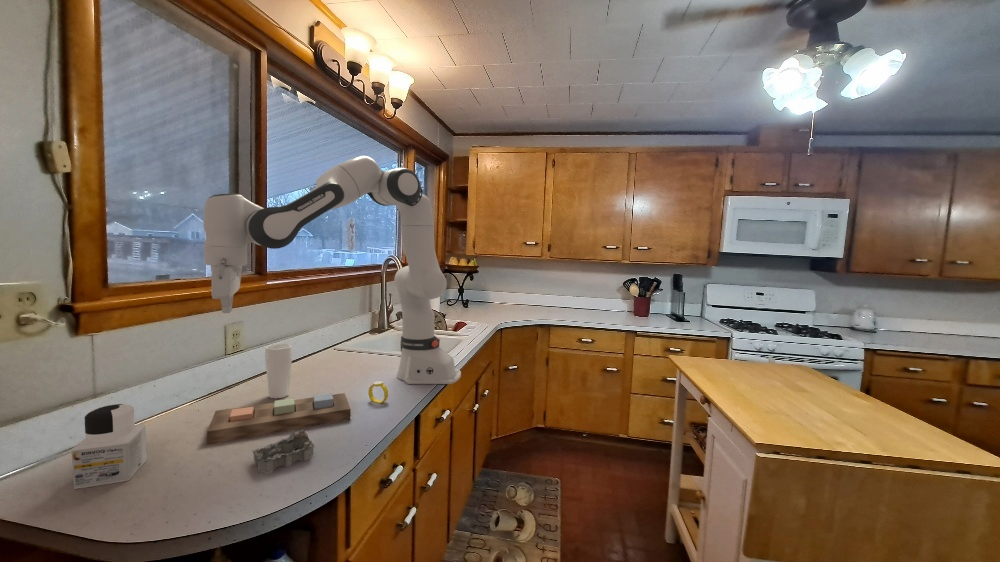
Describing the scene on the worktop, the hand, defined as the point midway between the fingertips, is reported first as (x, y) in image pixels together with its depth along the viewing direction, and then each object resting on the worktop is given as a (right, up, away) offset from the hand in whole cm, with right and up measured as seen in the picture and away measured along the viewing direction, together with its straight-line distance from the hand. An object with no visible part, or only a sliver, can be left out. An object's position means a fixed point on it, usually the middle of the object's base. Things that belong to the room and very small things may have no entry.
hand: (227, 312), depth 98 cm
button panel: (+15, -28, 0) cm, 32 cm away
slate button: (+23, -26, +4) cm, 35 cm away
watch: (+34, -28, +14) cm, 46 cm away
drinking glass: (+4, -26, +16) cm, 31 cm away
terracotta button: (+7, -27, -5) cm, 28 cm away
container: (-4, -29, -25) cm, 38 cm away
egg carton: (+24, -30, -17) cm, 42 cm away
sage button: (+15, -26, 0) cm, 30 cm away
